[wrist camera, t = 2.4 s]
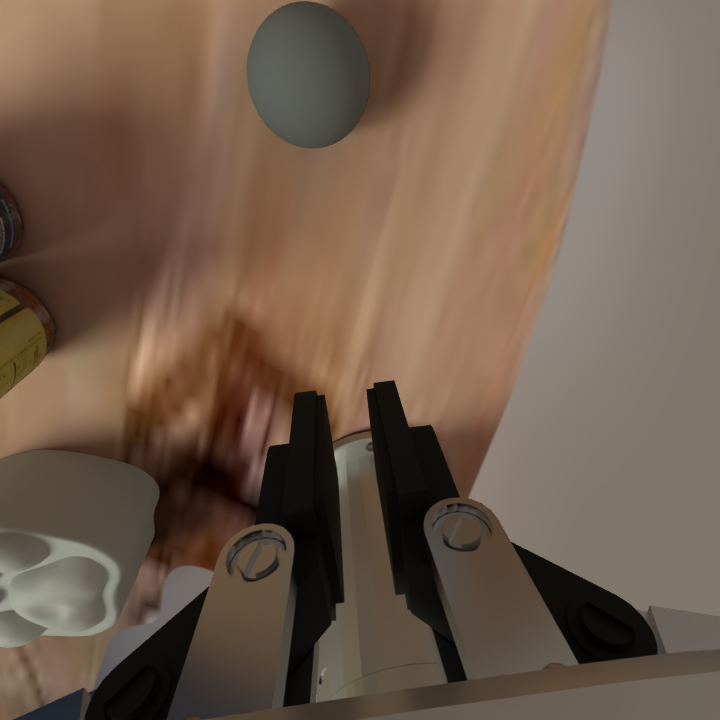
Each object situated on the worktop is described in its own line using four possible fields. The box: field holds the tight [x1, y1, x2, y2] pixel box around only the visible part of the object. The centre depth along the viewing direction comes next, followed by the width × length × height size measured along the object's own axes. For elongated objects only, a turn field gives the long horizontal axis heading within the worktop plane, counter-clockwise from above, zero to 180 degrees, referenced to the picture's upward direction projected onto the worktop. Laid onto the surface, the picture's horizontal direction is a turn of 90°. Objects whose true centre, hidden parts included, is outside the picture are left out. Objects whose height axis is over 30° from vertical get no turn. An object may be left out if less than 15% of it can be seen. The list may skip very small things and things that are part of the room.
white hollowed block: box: [0, 449, 159, 648], centre depth 30 cm, size 10×13×9 cm
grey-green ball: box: [247, 1, 370, 148], centre depth 20 cm, size 6×6×6 cm
